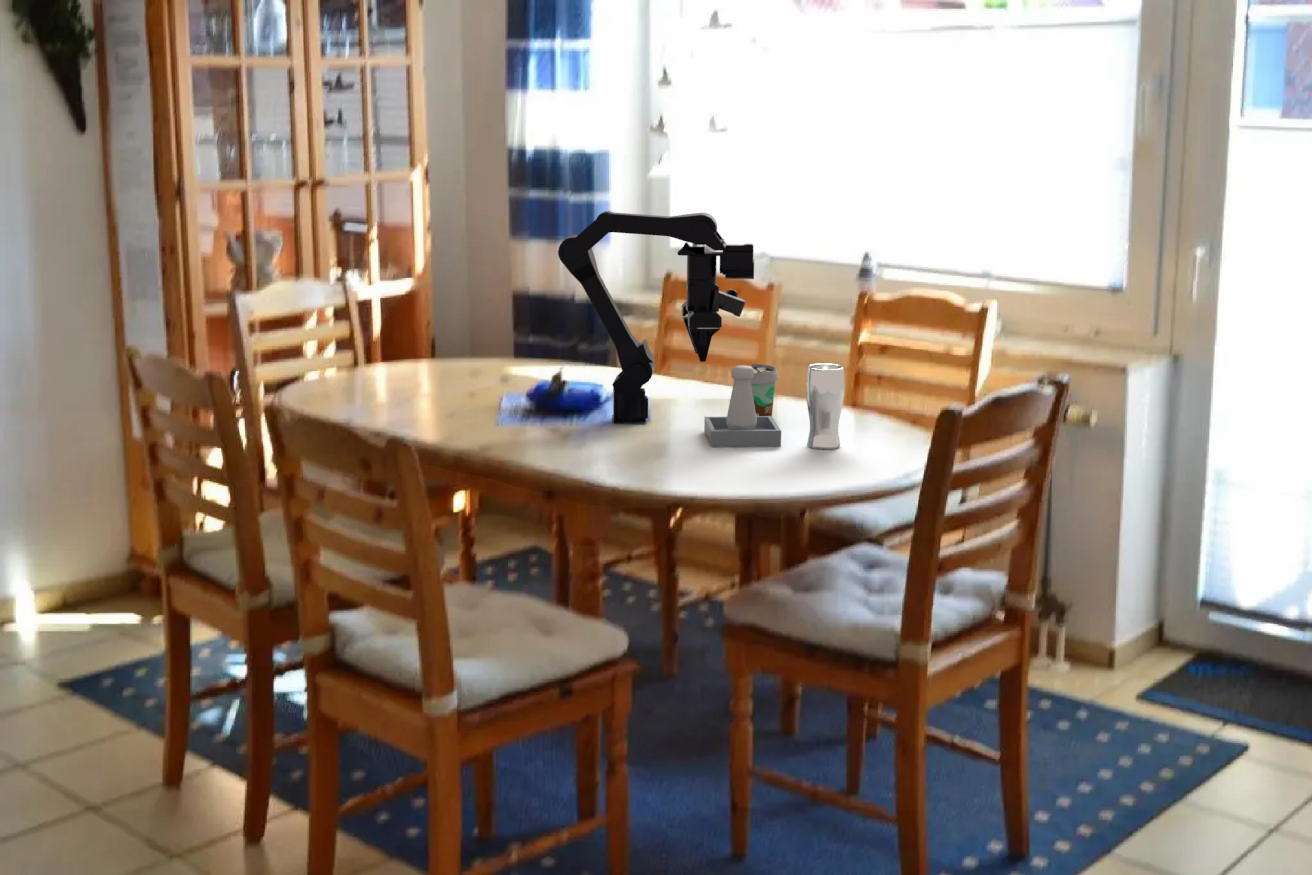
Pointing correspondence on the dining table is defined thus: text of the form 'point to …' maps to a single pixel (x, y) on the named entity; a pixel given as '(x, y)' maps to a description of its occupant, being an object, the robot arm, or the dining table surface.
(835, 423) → the beer glass
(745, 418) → the salt shaker
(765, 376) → the food container
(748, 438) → the bin
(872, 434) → the dining table surface
